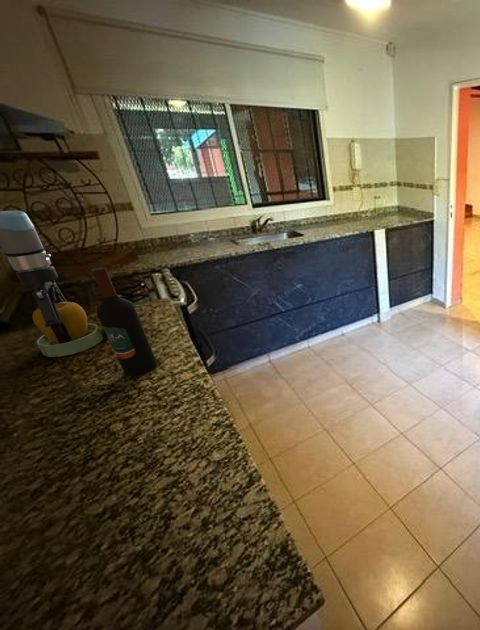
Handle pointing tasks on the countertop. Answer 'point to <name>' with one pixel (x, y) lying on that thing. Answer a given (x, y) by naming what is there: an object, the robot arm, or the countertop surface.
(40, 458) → the countertop surface
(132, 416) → the countertop surface
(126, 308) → the wine bottle
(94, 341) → the bowl
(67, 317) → the apple
